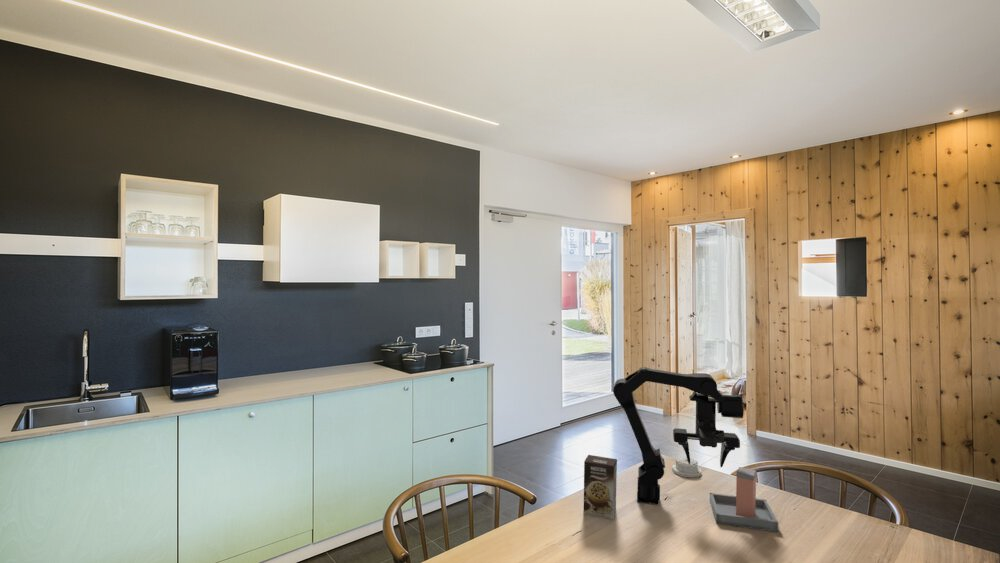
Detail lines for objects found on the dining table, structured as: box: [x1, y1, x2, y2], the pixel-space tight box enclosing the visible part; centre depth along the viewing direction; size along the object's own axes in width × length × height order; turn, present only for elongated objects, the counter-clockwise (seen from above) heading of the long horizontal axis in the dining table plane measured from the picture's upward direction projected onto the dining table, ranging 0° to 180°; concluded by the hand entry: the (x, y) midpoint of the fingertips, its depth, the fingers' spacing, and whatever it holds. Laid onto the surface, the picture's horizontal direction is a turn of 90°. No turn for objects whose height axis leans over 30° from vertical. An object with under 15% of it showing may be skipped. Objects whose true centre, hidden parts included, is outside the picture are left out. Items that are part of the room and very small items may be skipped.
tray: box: [709, 492, 779, 533], centre depth 144 cm, size 16×14×3 cm
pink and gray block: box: [735, 466, 757, 518], centre depth 143 cm, size 4×4×13 cm
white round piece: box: [671, 456, 702, 478], centre depth 176 cm, size 10×4×10 cm
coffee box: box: [582, 454, 618, 521], centre depth 146 cm, size 9×6×16 cm
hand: (705, 465), depth 150 cm, fingers open, 9 cm apart
